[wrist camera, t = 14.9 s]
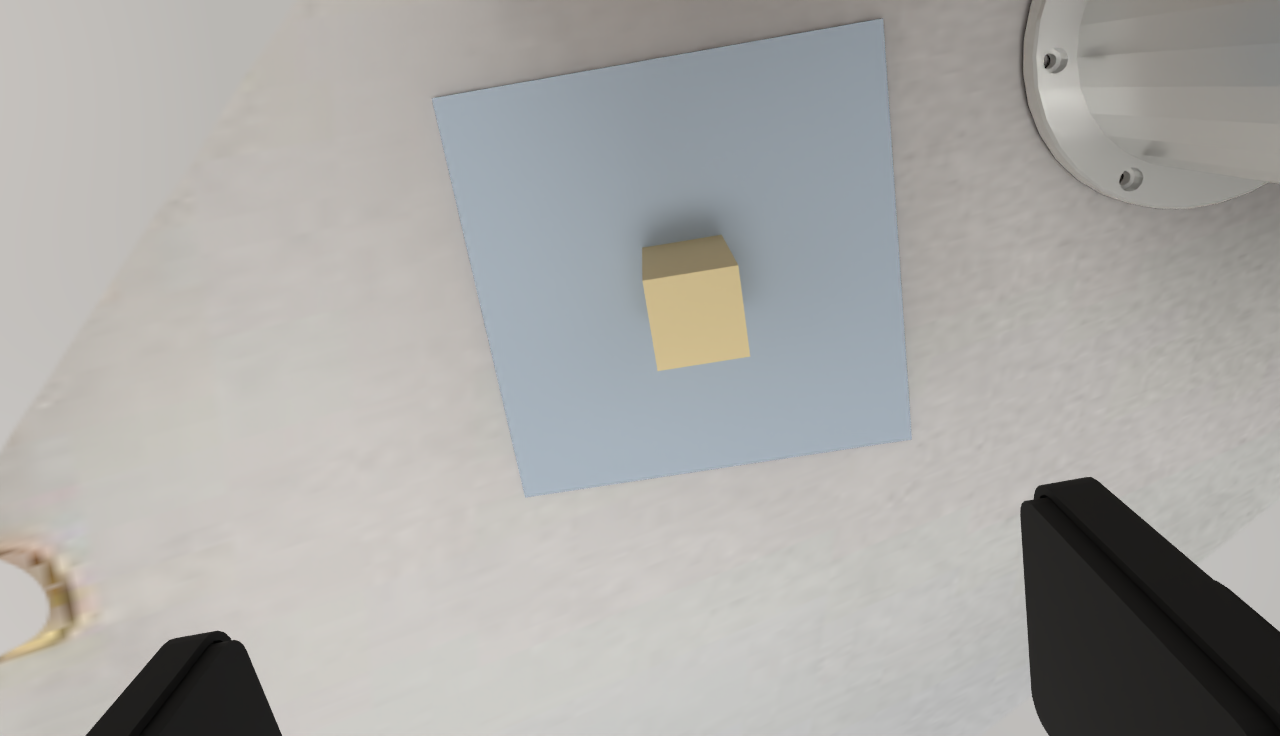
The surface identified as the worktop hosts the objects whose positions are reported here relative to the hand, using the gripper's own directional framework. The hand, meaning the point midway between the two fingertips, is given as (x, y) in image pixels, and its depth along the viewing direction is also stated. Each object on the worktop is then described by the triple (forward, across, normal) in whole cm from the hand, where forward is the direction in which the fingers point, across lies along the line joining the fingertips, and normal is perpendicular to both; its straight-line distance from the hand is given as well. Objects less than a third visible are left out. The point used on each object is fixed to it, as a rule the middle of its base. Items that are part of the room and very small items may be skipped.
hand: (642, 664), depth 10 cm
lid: (+26, -2, +1) cm, 26 cm away
